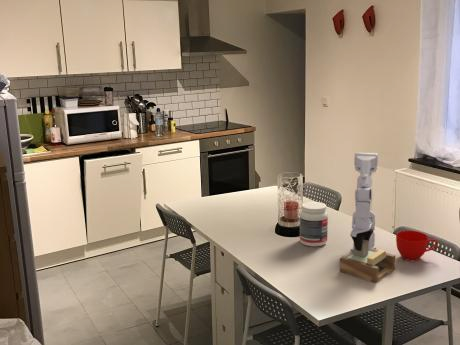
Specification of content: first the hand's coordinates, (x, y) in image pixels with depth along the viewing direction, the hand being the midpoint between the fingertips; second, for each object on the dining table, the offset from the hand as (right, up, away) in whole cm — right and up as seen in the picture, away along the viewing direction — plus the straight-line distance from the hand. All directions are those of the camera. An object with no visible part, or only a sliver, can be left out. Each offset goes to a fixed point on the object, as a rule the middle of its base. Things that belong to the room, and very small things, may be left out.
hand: (361, 248), depth 210 cm
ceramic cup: (+26, -6, +11) cm, 29 cm away
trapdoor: (+2, -4, -1) cm, 5 cm away
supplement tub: (-15, -2, +31) cm, 34 cm away
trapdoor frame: (+2, -9, 0) cm, 9 cm away
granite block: (0, -3, +1) cm, 3 cm away
